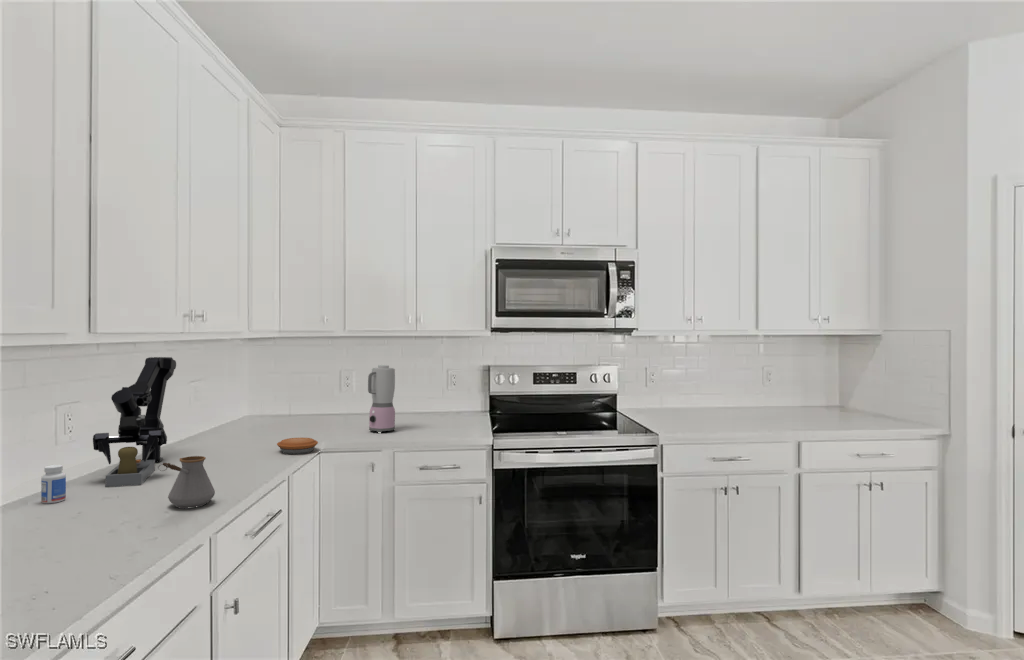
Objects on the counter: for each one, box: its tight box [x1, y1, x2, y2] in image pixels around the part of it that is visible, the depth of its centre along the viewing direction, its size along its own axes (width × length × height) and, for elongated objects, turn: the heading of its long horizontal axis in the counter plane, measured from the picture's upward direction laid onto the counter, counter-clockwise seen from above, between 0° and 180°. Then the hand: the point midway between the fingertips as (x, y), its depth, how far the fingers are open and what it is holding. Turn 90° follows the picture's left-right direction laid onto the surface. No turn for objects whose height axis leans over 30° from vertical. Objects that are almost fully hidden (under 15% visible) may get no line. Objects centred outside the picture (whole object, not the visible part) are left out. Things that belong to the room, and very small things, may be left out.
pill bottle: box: [40, 464, 67, 504], centre depth 164 cm, size 6×5×10 cm
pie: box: [276, 437, 319, 455], centre depth 236 cm, size 15×16×5 cm
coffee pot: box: [157, 455, 216, 509], centre depth 159 cm, size 21×12×15 cm, turn 3°
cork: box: [117, 446, 139, 474], centre depth 185 cm, size 6×6×11 cm
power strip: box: [104, 458, 156, 488], centre depth 190 cm, size 20×9×4 cm, turn 21°
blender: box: [367, 364, 396, 433], centre depth 284 cm, size 16×12×32 cm
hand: (127, 462), depth 184 cm, fingers open, 9 cm apart
